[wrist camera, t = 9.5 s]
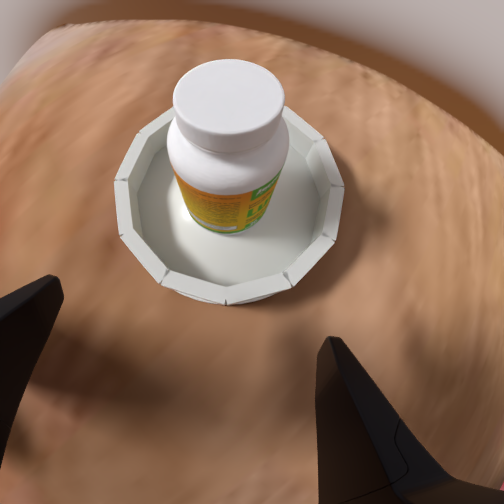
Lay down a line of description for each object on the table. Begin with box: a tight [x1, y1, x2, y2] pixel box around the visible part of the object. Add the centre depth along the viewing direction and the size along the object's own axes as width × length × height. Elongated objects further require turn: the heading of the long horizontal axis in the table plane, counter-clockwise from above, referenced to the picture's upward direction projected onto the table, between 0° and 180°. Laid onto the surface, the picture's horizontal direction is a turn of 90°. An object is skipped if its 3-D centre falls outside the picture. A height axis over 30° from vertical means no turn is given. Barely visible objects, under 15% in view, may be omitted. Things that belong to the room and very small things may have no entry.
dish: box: [114, 106, 345, 306], centre depth 18 cm, size 14×14×3 cm
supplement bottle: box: [167, 59, 290, 235], centre depth 13 cm, size 5×5×10 cm
